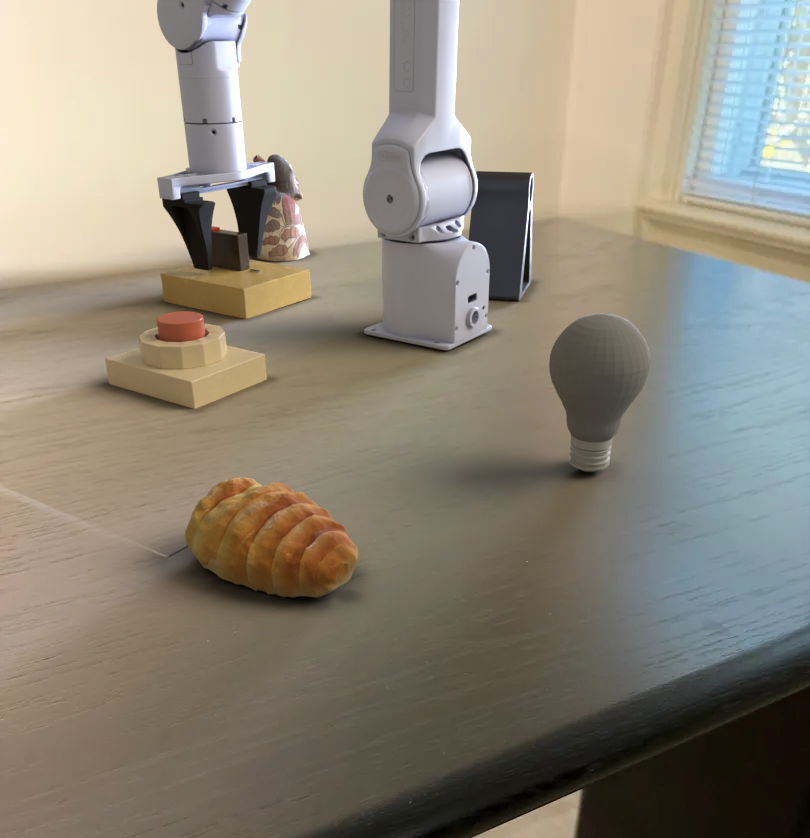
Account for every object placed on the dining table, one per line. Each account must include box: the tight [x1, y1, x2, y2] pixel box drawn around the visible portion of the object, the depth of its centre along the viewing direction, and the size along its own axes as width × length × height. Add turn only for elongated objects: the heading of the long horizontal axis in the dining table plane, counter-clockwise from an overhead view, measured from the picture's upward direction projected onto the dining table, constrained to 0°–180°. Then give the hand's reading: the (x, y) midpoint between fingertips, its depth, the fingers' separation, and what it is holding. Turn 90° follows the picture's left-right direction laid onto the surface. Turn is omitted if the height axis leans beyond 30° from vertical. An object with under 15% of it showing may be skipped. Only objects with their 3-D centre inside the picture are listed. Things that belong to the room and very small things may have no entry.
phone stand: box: [468, 170, 535, 302], centre depth 95 cm, size 9×6×12 cm, turn 164°
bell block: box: [104, 322, 268, 410], centre depth 71 cm, size 10×8×4 cm
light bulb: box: [548, 312, 651, 473], centre depth 55 cm, size 6×6×10 cm
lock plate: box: [160, 259, 312, 320], centre depth 94 cm, size 13×10×3 cm
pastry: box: [184, 476, 359, 598], centre depth 46 cm, size 9×7×4 cm
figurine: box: [252, 153, 311, 262], centre depth 111 cm, size 7×7×12 cm
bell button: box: [155, 310, 206, 342], centre depth 70 cm, size 4×4×2 cm
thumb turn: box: [211, 225, 250, 271], centre depth 94 cm, size 5×1×4 cm, turn 55°
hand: (228, 262), depth 95 cm, fingers open, 7 cm apart
